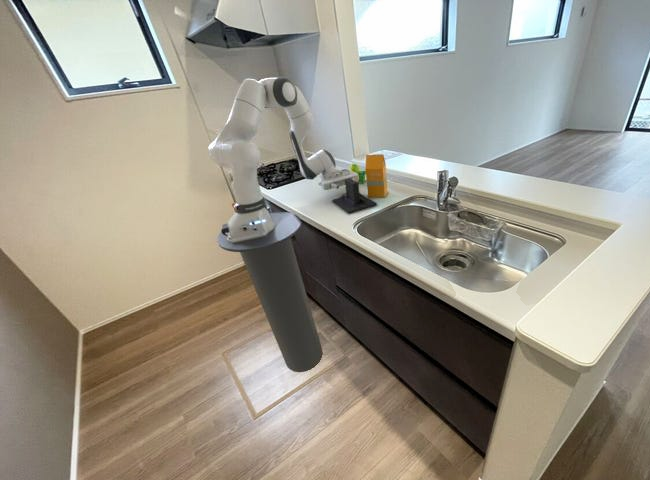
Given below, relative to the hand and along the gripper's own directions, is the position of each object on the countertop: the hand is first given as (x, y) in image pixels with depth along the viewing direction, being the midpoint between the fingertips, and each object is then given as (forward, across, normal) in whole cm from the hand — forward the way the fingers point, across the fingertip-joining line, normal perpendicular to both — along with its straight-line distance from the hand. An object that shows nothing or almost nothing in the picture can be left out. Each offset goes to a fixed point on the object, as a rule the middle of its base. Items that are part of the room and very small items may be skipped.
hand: (346, 184), depth 149 cm
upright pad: (+7, 0, +7) cm, 10 cm away
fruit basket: (-22, +16, +8) cm, 28 cm away
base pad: (+7, 0, +8) cm, 10 cm away
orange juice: (+5, +15, +8) cm, 18 cm away
